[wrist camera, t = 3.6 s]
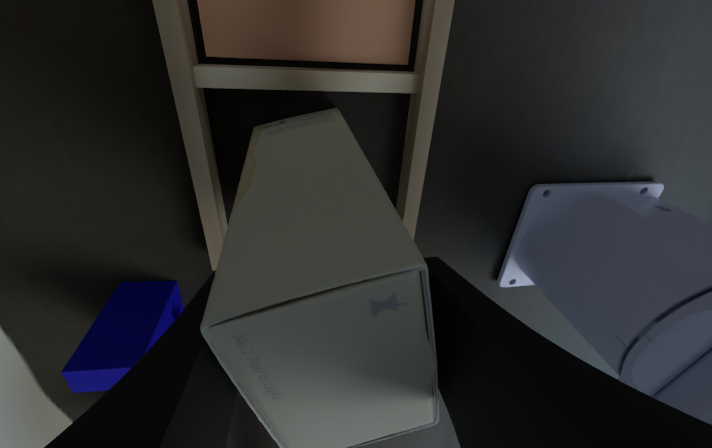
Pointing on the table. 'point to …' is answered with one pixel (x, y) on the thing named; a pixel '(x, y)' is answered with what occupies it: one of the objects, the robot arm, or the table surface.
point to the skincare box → (322, 294)
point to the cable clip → (122, 334)
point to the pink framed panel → (303, 73)
